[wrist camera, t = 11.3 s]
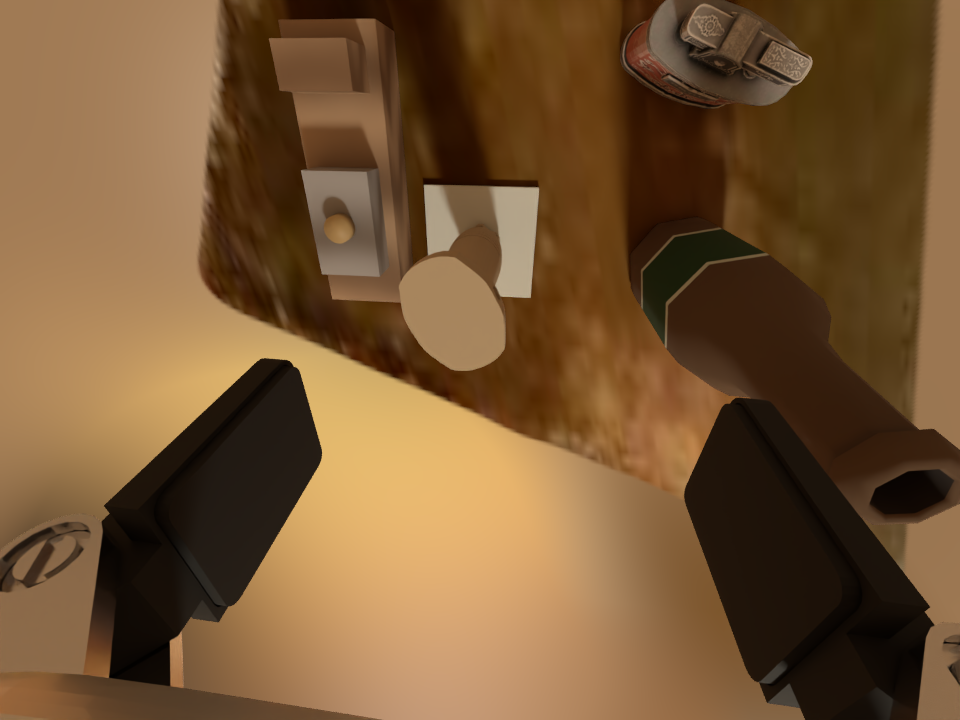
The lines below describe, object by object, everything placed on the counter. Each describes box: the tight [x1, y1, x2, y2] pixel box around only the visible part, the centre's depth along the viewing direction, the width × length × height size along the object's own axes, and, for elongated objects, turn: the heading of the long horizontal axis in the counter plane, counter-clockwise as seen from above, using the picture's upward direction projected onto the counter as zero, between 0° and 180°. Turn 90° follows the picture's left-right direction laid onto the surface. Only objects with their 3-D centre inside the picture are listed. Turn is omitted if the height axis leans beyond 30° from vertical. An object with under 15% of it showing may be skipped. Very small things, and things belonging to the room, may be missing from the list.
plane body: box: [269, 19, 413, 302], centre depth 29 cm, size 18×6×7 cm, turn 0°
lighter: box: [620, 0, 812, 109], centre depth 22 cm, size 8×3×10 cm, turn 69°
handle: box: [399, 224, 506, 371], centre depth 27 cm, size 5×6×15 cm
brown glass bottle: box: [630, 217, 960, 525], centre depth 23 cm, size 8×8×24 cm
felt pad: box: [424, 184, 539, 298], centre depth 34 cm, size 9×9×1 cm
